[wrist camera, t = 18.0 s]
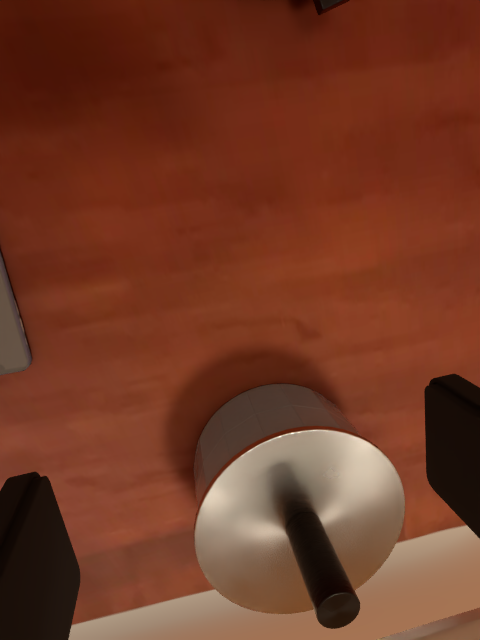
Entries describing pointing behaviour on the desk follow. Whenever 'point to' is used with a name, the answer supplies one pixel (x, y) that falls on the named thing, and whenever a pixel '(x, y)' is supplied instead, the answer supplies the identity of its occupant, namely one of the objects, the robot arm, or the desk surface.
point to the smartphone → (11, 330)
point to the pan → (327, 5)
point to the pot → (259, 424)
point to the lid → (300, 522)
